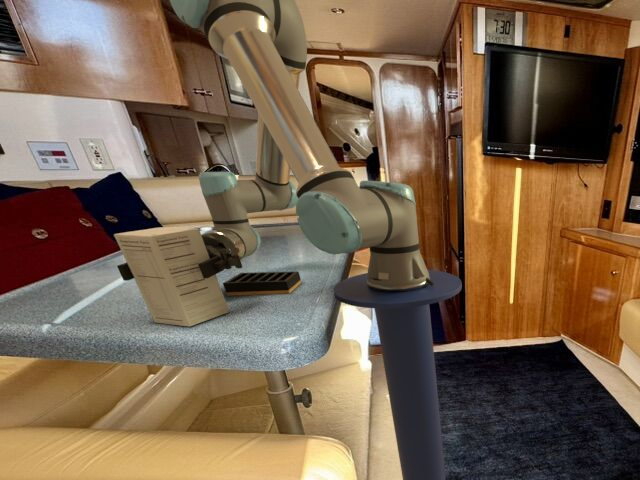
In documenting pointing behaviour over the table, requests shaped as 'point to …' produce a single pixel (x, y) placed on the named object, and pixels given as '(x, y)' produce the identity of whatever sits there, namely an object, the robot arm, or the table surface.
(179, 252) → the supplement box
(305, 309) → the table surface
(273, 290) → the dish rack
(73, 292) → the table surface
